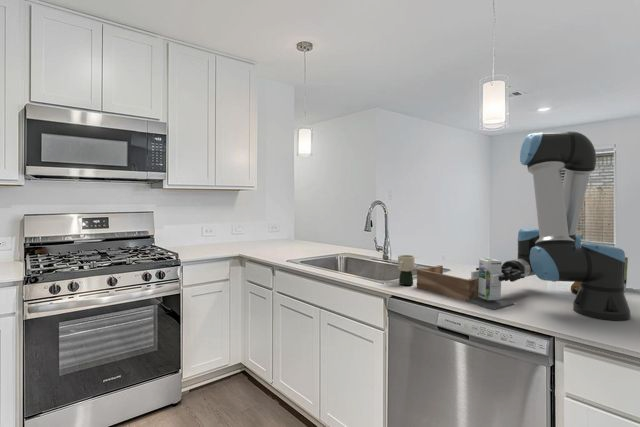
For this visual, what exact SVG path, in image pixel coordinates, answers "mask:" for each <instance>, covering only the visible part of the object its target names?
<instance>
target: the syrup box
mask: <svg viewBox="0 0 640 427" xmlns="http://www.w3.org/2000/svg"><path fill="white" fill-rule="evenodd" d="M502 262H503V261H501V260H498V259H494V258H485V257H483V258H479V259H478V268H479V287H478V297H481V298H483V299H486V300H500V299H502V298H501V297H502V296H501V295H502V281H501V282H497V283H491V276H492V275H496V274H500V273H501V269H502V265H503V263H502Z"/></svg>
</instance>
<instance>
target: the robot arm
mask: <svg viewBox="0 0 640 427" xmlns="http://www.w3.org/2000/svg"><path fill="white" fill-rule="evenodd" d="M594 146H595V145H594V144H593V143H592V141H591V140H590V139H589V138H588V137H587V136H586V135H585V134H582V133H581V132H577V131H560V132H559V131H557V132H554V131H553V132H543V131H541V132H534V133H530V134H528V135H526V136H525V138H524V140H523V142H522V144H521V148H520V153H519V162H520V164H521V165H523V166H527V171H528V173H530V174H531V175H532V176H533V177H532V178H533V187H534V197H535V206H536V207H535V208H536V216H537V226H538V228H537V229H536V228H527V227H526V228H524V227H523V228H519V230H518V232H517V233H518V234H517V258H516V259H515V258H514V259H512V260H507V261H505V262H504V263H502V269H501V273H500V274H496V275H492V276H491V283H497V282H501V283H502V282H504V281H505V282H508V281H509V282H511V283H512V282H516V281H519V280H520V279H525V277H529V276H536V277H537V278H538V279H539V280H541V281H547V282H554V283H555V282H567V283H574V282H580V289H579V291H578V293H577V295H576V296H575V298H574V301H573V302H572V303H573V305H572V310H573V311H575V312H576V313H578V314H580V315H584V316H586V317H590V318H594V319H601V320H607V321H626V320H630V319H631V310H630V306H629V304H628V300H627V298H626V296H625V292H624V276H625V263H626V262H625V257H626V254H625V253H626V252H625V251H624V249H622V248H620V247H616V246H609V245H604V244H600V243H591V242H582V240H581V237H580V235H579V234H577V230H578V225H579V221H580V217H581V212H582V209H583V204H584V201H585V197H586V191H587V188H588V184H589V181H590V180H589V179H590V175H591V173H592V172H594V171H595V169H596V166H597V154H596V153H597V152H596V149H595V147H594ZM563 169H564V171H565V173H564V177H563V178H562V170H563ZM470 273H471V274H470V276H471V277H470V279H476V278H479V267H476V268H475V270H472V271H471V272H470Z"/></svg>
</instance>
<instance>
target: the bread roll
mask: <svg viewBox="0 0 640 427" xmlns="http://www.w3.org/2000/svg"><path fill="white" fill-rule="evenodd" d="M579 289H580V282H572V284H571V285H570V292H571V293H572V294H575V295H576V296H577V293H578V291H579Z"/></svg>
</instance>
